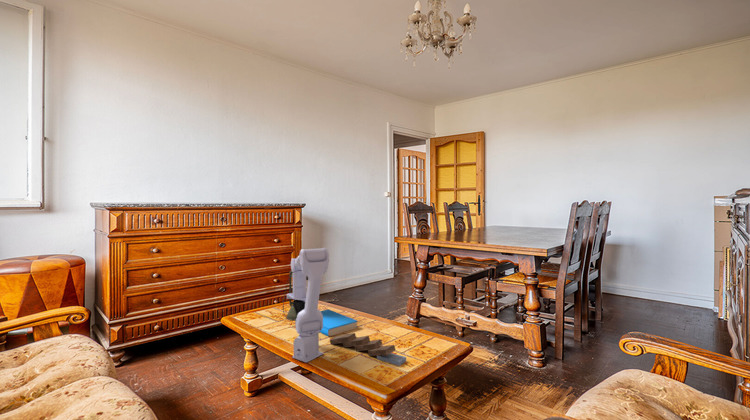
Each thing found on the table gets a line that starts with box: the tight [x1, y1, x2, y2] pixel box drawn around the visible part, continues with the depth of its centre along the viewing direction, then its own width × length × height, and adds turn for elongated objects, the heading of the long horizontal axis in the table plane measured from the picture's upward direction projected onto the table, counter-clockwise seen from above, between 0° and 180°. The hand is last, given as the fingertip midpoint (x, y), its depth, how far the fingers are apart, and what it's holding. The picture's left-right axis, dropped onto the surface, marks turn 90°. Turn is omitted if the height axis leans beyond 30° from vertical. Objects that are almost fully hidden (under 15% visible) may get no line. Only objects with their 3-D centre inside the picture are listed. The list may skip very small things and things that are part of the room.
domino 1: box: [329, 332, 357, 345], centre depth 149 cm, size 2×5×10 cm
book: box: [320, 308, 358, 337], centre depth 173 cm, size 17×4×25 cm
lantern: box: [282, 270, 319, 321], centre depth 188 cm, size 21×18×30 cm
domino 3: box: [354, 338, 383, 352], centre depth 142 cm, size 2×5×10 cm
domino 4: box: [367, 344, 396, 357], centre depth 136 cm, size 2×5×10 cm
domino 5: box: [376, 352, 407, 367], centre depth 134 cm, size 2×5×10 cm
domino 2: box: [342, 335, 371, 349], centre depth 146 cm, size 2×5×10 cm
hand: (299, 317), depth 153 cm, fingers closed
